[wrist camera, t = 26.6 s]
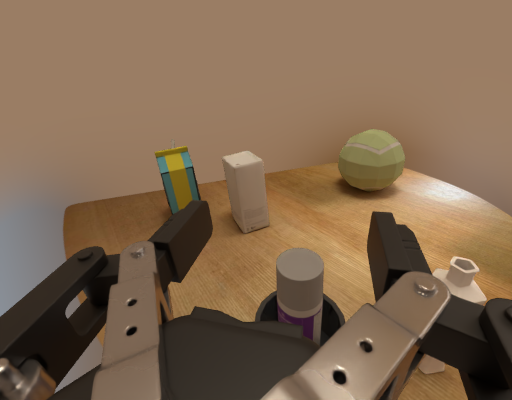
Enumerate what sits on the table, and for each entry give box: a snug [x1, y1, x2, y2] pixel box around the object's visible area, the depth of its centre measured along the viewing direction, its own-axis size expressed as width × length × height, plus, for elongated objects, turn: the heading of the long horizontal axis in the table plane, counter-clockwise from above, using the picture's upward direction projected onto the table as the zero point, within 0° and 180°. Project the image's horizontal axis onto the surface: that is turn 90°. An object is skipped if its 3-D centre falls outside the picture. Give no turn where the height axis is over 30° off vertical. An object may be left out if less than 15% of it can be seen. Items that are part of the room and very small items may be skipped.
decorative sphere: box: [338, 129, 405, 192], centre depth 66 cm, size 15×15×15 cm
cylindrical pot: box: [255, 291, 345, 347], centre depth 30 cm, size 10×10×7 cm
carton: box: [155, 139, 201, 215], centre depth 61 cm, size 7×8×18 cm
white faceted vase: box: [418, 256, 487, 374], centre depth 27 cm, size 5×4×15 cm
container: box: [276, 248, 324, 345], centre depth 28 cm, size 5×5×15 cm
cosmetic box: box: [222, 151, 269, 233], centre depth 56 cm, size 8×7×16 cm
